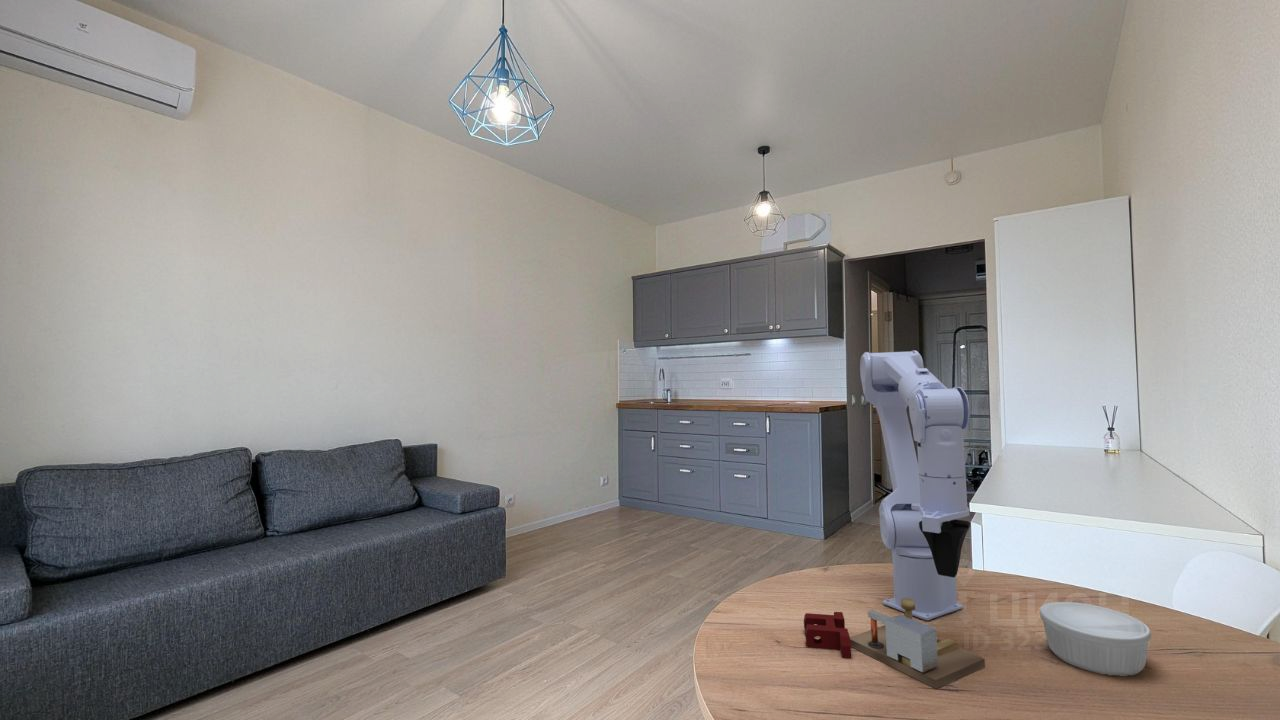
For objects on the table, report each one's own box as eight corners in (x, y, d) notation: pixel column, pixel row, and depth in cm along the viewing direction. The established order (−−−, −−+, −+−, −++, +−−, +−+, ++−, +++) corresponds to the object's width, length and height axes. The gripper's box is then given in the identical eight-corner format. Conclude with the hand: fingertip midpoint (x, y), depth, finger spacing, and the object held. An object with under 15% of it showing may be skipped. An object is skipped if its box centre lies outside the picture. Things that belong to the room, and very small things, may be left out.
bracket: (850, 639, 73) (841, 609, 82) (806, 636, 74) (802, 607, 84) (851, 661, 73) (842, 629, 82) (807, 657, 74) (803, 626, 84)
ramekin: (1135, 692, 63) (1131, 645, 64) (1026, 654, 73) (1023, 613, 73) (1167, 664, 69) (1163, 622, 70) (1062, 632, 79) (1060, 595, 79)
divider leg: (938, 665, 68) (936, 628, 68) (922, 672, 66) (920, 634, 66) (879, 639, 75) (877, 605, 75) (864, 644, 74) (862, 610, 74)
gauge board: (985, 666, 70) (982, 622, 70) (936, 688, 65) (933, 641, 65) (895, 628, 81) (893, 591, 81) (847, 645, 76) (845, 605, 77)
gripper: (924, 466, 84) (928, 556, 83) (895, 479, 73) (900, 583, 72) (977, 470, 79) (982, 565, 79) (955, 484, 68) (961, 595, 68)
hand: (947, 574), depth 75 cm, fingers closed
